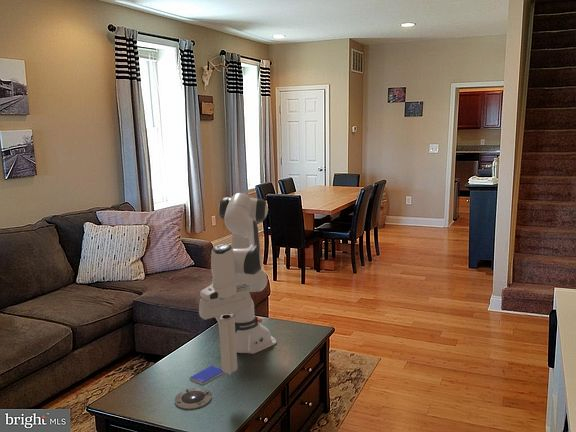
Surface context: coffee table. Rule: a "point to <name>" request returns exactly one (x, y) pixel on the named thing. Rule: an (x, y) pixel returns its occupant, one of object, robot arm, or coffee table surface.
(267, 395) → the coffee table surface
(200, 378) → the hard drive
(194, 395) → the duct flange
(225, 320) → the paper towel roll
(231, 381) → the coffee table surface
